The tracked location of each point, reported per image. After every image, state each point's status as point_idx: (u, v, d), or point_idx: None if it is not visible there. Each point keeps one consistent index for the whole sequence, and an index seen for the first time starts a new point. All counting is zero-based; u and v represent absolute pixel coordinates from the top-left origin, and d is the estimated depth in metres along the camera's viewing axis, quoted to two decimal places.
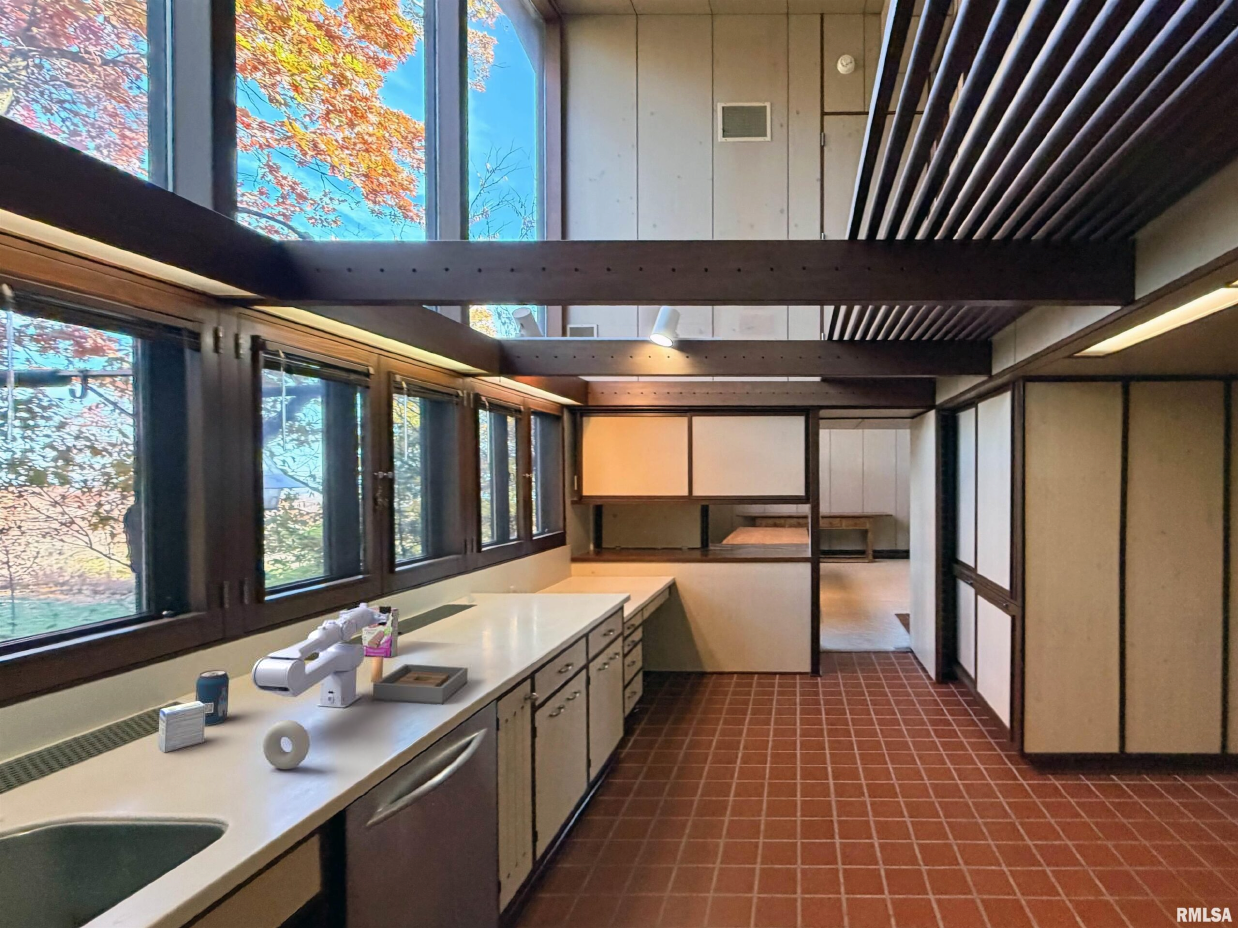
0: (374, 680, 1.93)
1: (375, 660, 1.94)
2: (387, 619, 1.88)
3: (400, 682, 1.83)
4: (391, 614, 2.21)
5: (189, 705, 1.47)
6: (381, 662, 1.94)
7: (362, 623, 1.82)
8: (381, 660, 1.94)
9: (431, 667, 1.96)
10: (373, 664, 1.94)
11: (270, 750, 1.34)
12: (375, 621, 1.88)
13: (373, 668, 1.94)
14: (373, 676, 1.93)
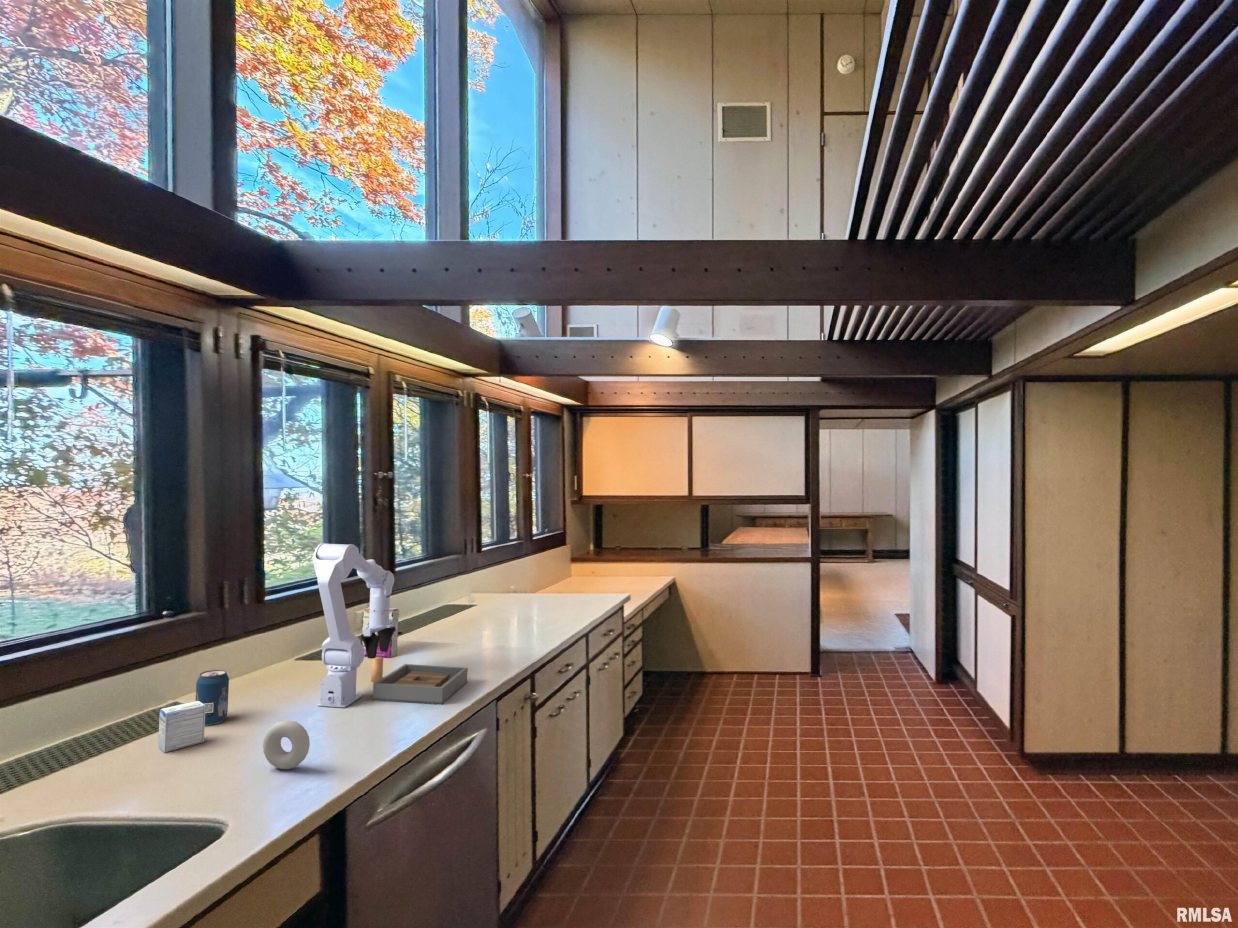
0: (374, 680, 1.93)
1: (375, 660, 1.94)
2: (365, 631, 1.88)
3: (400, 682, 1.83)
4: (391, 614, 2.21)
5: (189, 705, 1.47)
6: (381, 662, 1.94)
7: (387, 607, 1.95)
8: (381, 660, 1.94)
9: (431, 667, 1.96)
10: (373, 664, 1.94)
11: (270, 750, 1.34)
12: None
13: (373, 668, 1.94)
14: (373, 676, 1.93)
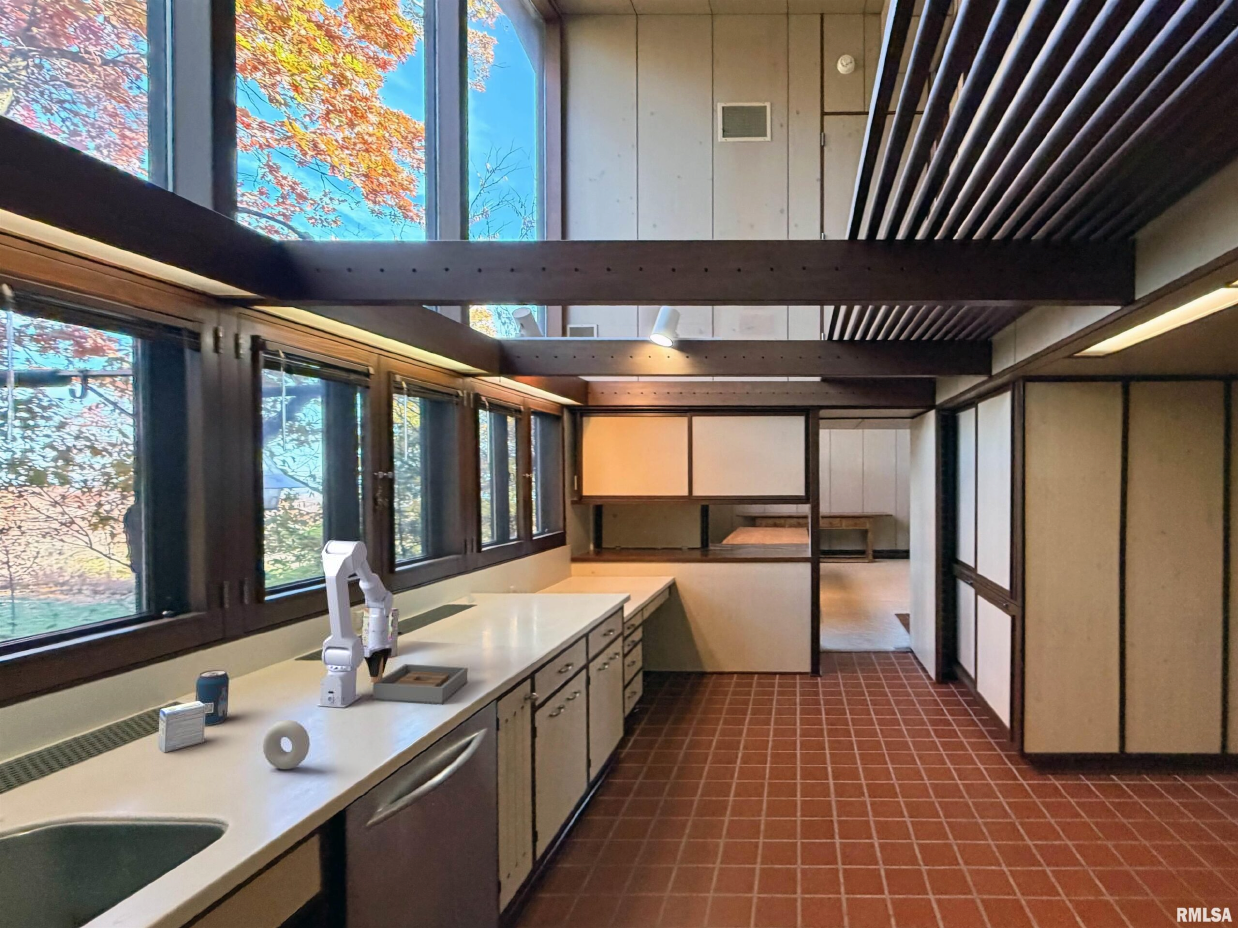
0: (374, 680, 1.93)
1: None
2: (364, 652, 1.88)
3: (400, 682, 1.83)
4: (391, 614, 2.21)
5: (189, 705, 1.47)
6: (381, 662, 1.94)
7: (387, 627, 1.95)
8: (381, 660, 1.94)
9: (431, 667, 1.96)
10: None
11: (270, 750, 1.34)
12: None
13: None
14: None
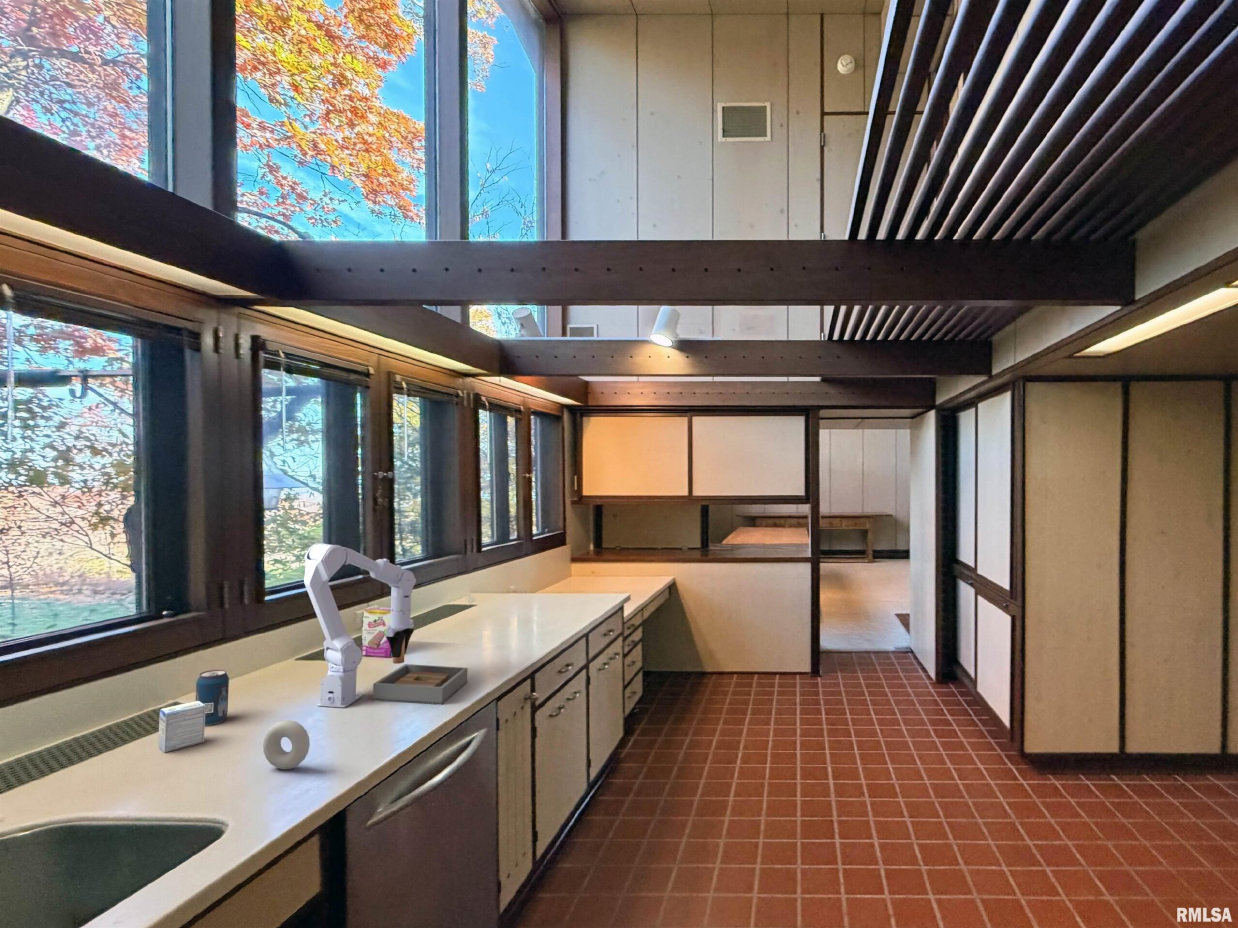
0: (396, 661, 1.90)
1: None
2: (387, 632, 1.85)
3: (400, 682, 1.83)
4: None
5: (189, 705, 1.47)
6: (403, 642, 1.91)
7: (405, 607, 1.90)
8: None
9: (431, 667, 1.96)
10: None
11: (270, 750, 1.34)
12: (390, 628, 1.88)
13: None
14: None
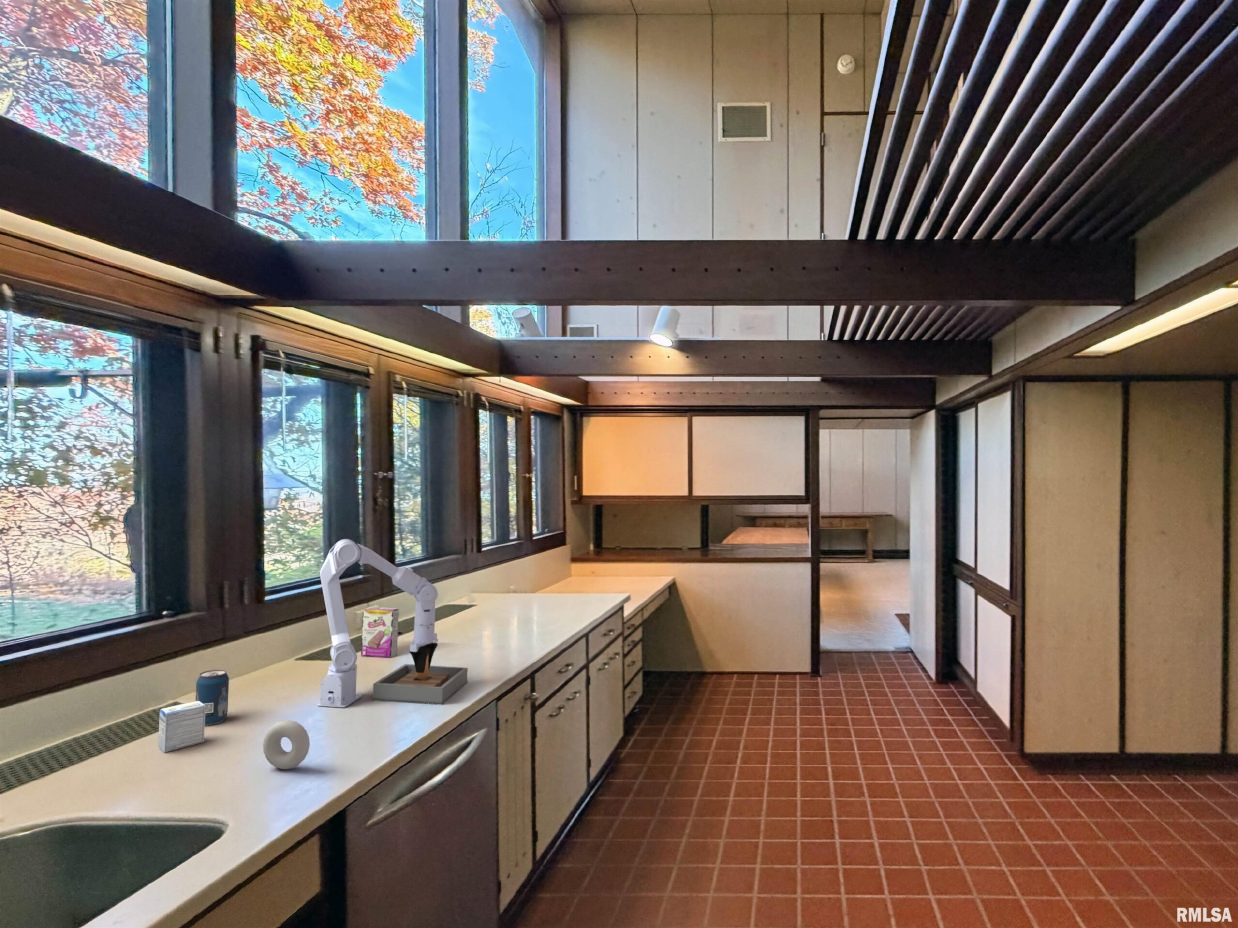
0: (419, 676, 1.86)
1: None
2: (411, 647, 1.80)
3: (400, 682, 1.83)
4: (391, 614, 2.21)
5: (189, 705, 1.47)
6: None
7: (425, 622, 1.85)
8: None
9: (431, 667, 1.96)
10: None
11: (270, 750, 1.34)
12: None
13: None
14: None
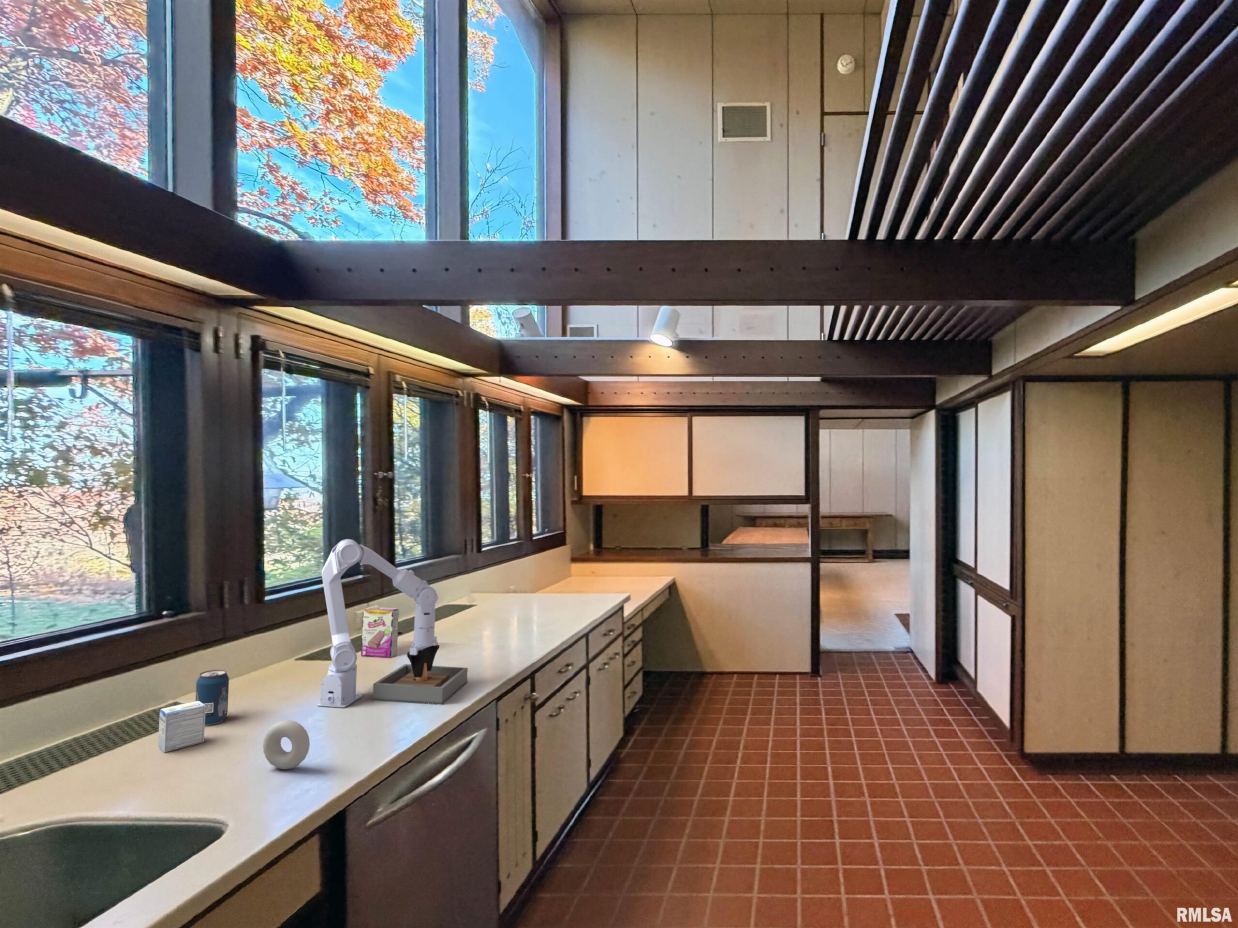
0: None
1: None
2: (411, 650, 1.80)
3: (400, 682, 1.83)
4: (391, 614, 2.21)
5: (189, 705, 1.47)
6: (425, 668, 1.87)
7: (425, 625, 1.85)
8: (424, 666, 1.87)
9: None
10: None
11: (270, 750, 1.34)
12: (414, 646, 1.84)
13: None
14: None
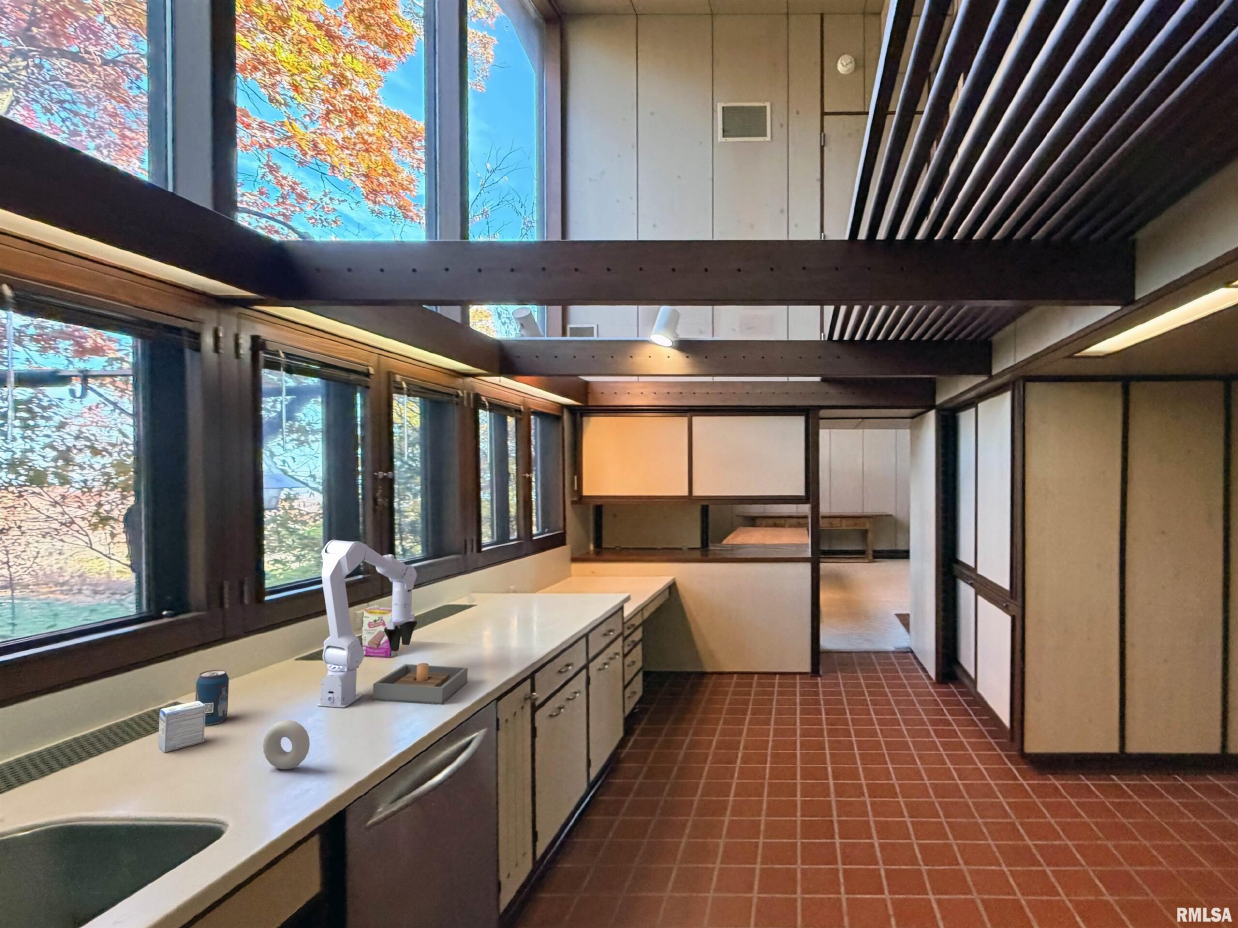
0: None
1: (420, 667, 1.86)
2: (388, 625, 1.91)
3: (400, 682, 1.83)
4: (391, 614, 2.21)
5: (189, 705, 1.47)
6: (426, 669, 1.86)
7: (408, 601, 1.98)
8: (426, 667, 1.86)
9: (431, 667, 1.96)
10: (418, 670, 1.86)
11: (270, 750, 1.34)
12: (392, 621, 1.95)
13: (418, 675, 1.86)
14: None
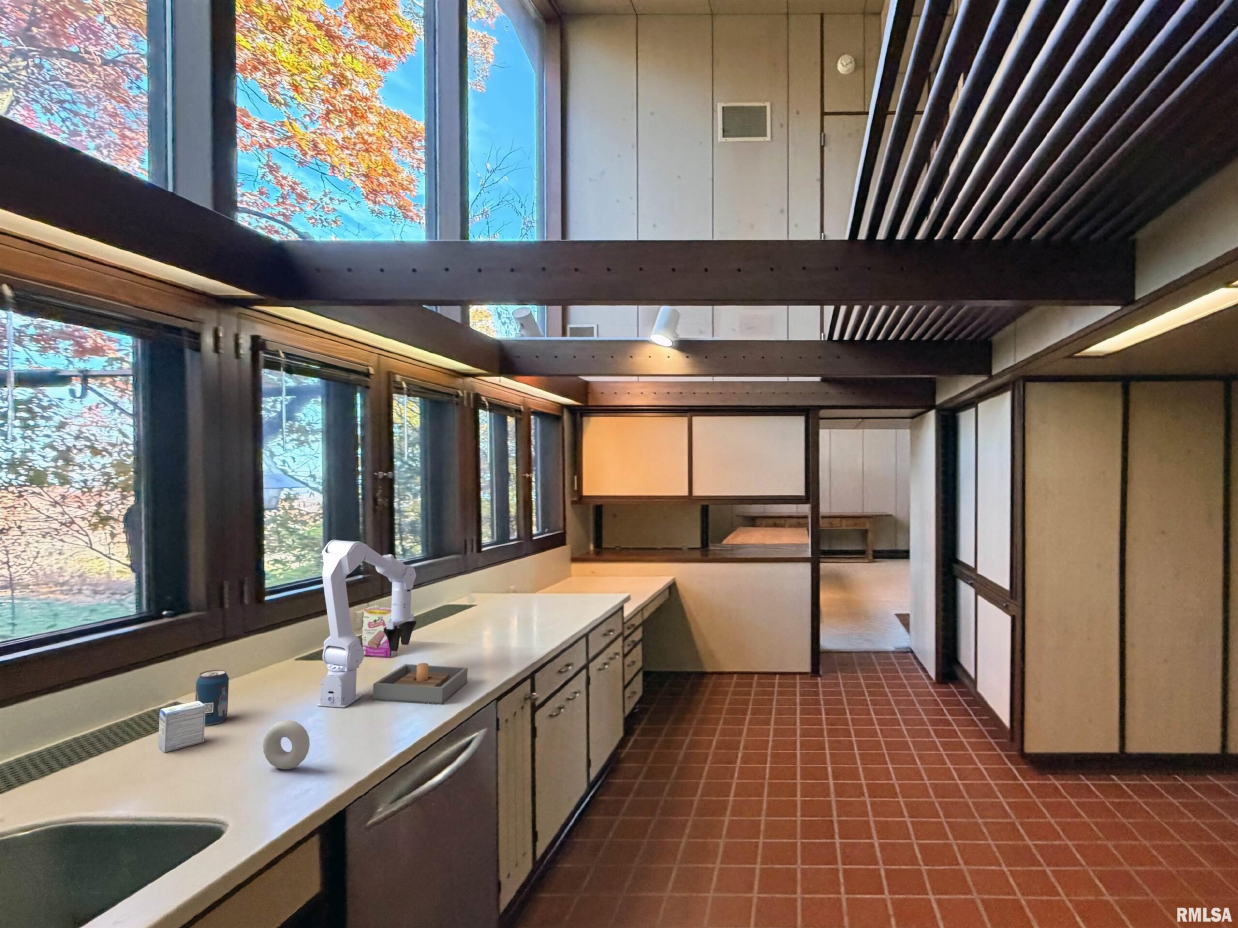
0: None
1: (420, 667, 1.86)
2: (388, 624, 1.92)
3: (400, 682, 1.83)
4: None
5: (189, 705, 1.47)
6: (426, 669, 1.86)
7: (408, 601, 1.98)
8: (426, 667, 1.86)
9: (431, 667, 1.96)
10: (418, 670, 1.86)
11: (270, 750, 1.34)
12: (391, 621, 1.95)
13: (418, 675, 1.86)
14: None
